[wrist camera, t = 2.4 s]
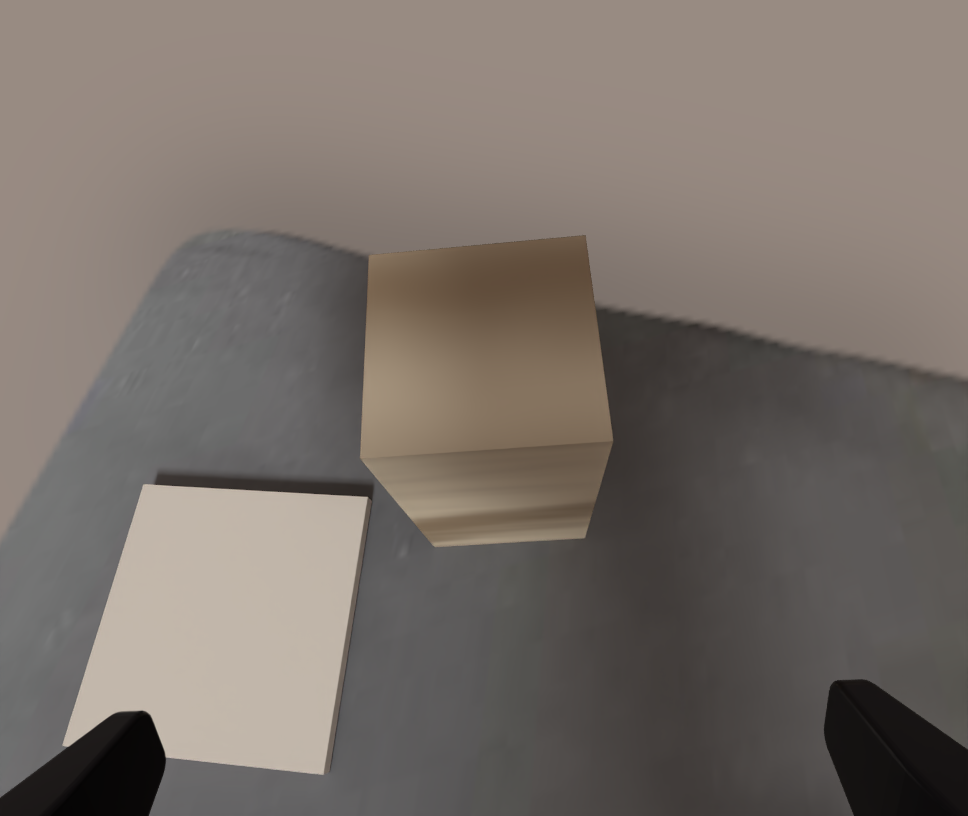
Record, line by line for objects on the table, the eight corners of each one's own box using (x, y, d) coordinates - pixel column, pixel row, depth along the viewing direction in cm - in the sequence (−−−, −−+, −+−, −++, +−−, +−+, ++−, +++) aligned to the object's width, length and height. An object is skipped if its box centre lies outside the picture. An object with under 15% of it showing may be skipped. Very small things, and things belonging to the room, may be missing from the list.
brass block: (584, 538, 22) (613, 440, 13) (434, 547, 23) (360, 458, 13) (569, 400, 24) (585, 235, 15) (433, 410, 25) (368, 255, 16)
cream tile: (372, 501, 23) (367, 497, 23) (329, 772, 20) (323, 774, 19) (152, 488, 24) (143, 484, 24) (74, 744, 21) (61, 745, 20)
